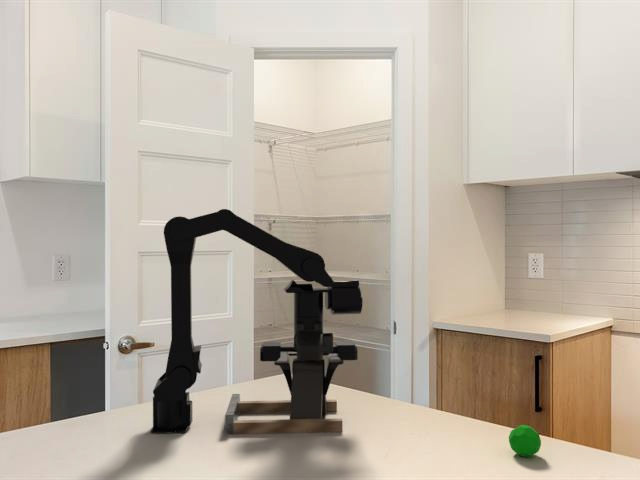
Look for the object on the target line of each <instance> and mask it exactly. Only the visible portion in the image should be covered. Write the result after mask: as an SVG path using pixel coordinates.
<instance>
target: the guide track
mask: <svg viewBox="0 0 640 480" xmlns="http://www.w3.org/2000/svg"><path fill="white" fill-rule="evenodd" d="M290 406H291V399H289V400H285V399H283V400H281V399H280V400H279V399H277V400H276V399H275V400H240V402H239V414H252V413H253V414H257V413H258V414H259V413H261V414H262V413H263V414H264V413H290ZM326 407H327V412H337V411H338V401H337V399H326ZM230 424H231V423H229V424H228V426H229V427H228V429H229V428H230V427H231V426H232V427H231V428H233V426H234V429H232V430H230V431H228V432H229V433H231V432H232V431H233V430H234V434H233V433H232V434H231V435H235V434H236V435H238V434H239V435H242V434H248V435H249V434H252V435H253V434H290V433H291V434H293V433H295V434H297V433H299V434H300V433H302V434H303V433H342V432H343V418H325V419H290V418H289V419H287V418H286V419H282V418H281V419H241V420H240V419H239V420H238V419H237V420H234V425H230ZM232 424H233V423H232ZM229 433H228V434H227V435H230V434H229Z"/></svg>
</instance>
